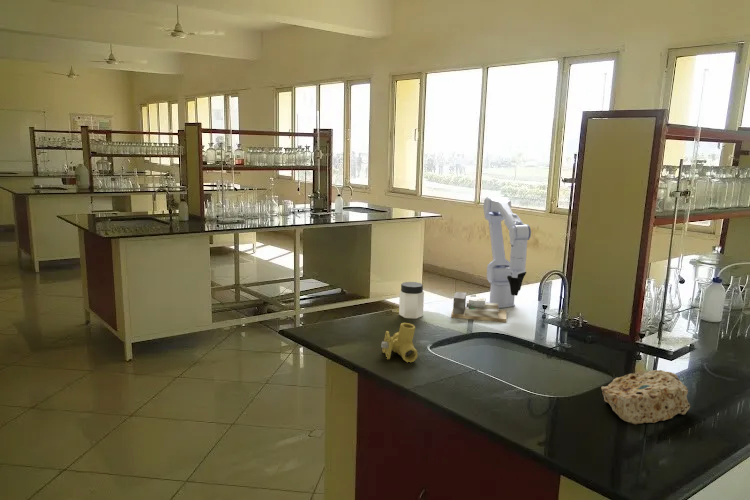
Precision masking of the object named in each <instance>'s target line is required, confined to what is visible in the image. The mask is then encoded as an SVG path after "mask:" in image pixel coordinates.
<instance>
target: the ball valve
mask: <svg viewBox="0 0 750 500" xmlns="http://www.w3.org/2000/svg"><path fill="white" fill-rule="evenodd" d="M415 331H416V326H415V324H413V323H408V322H402V323H400V325H399V331H397V332H395V333H394V334H393V336H391V335H390V331H388V330H386V331H385V335H384V340H383V341H381V344H380V345H381V346H380V347H381V348H382V349H381V350H382V353H383V354H385V358H386V357H387V358H386V359H387V360H390V359H391V355H392V352H394V353H397V354H398V356H400V357H401V358H402V360H403V361H405V362H406V363H408V362H410V363H413V362H415V361H416V359H418V350H417V349H416V348H415V346H414V343H413V340H414V336H415Z"/></svg>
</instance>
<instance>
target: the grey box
mask: <svg viewBox="0 0 750 500" xmlns="http://www.w3.org/2000/svg"><path fill="white" fill-rule="evenodd" d="M468 301H469V306H468V307H469V308H470V307H473V308H484V309H485V302H486V297H479V296H478V297H477V296H469V299H468Z"/></svg>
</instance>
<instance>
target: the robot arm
mask: <svg viewBox="0 0 750 500" xmlns="http://www.w3.org/2000/svg"><path fill="white" fill-rule="evenodd" d="M483 214H484V215H483V216H484V218H485V220H487V222H488V227H489V236H490V244H491V245H490V246H491V254H492V260H491V261H490V262H489V263H488V264H487V266H486V279H487V281H488V283H489V284H490V291H489V301H485V303H498V304H499V307H498V309H503V308H510V307H515V306H516V304H515V297H517V296H518V294H519V292H520V291H521V288H522V284H523V280H524V277H526V274H527V269H526V264H527V250H528V241H529V240H530V239H531V235H532V230H531V227H530V225H529V224H528V223H527V224H526V223H524V222H523V221H522V219H521V218H520V216H519V215H518V214H517V213H514V212H513V210H512V201H511V199H510V198H509V197H508V196H507V197H495V196H494V197H491V196H490V197H489V196H487V197H485V199H484V201H483ZM502 221H504V224H505V226H506V228H507V229H508V237H509V244H510V254H509V255H510V256H509V260H508V259H506V253H505V244H504V236H503V228H502V227H503V226H502Z"/></svg>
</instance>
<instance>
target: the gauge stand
mask: <svg viewBox="0 0 750 500" xmlns="http://www.w3.org/2000/svg"><path fill="white" fill-rule="evenodd" d="M466 300H467V292H461V291H456V292H455V293H454V295H453V303H452V304H453V306H452V307H453V308H452V311H451V314H450V318H451V317H452V319H464V320H474V321H475V320H476V321H477V320H478V321H486V322H499V323H507V310H506V309H500V308H498V307H499V304H498V303H485V309H484V308H473V307H470V308H469V307H468V306H469V300H467V301H466Z"/></svg>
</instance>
